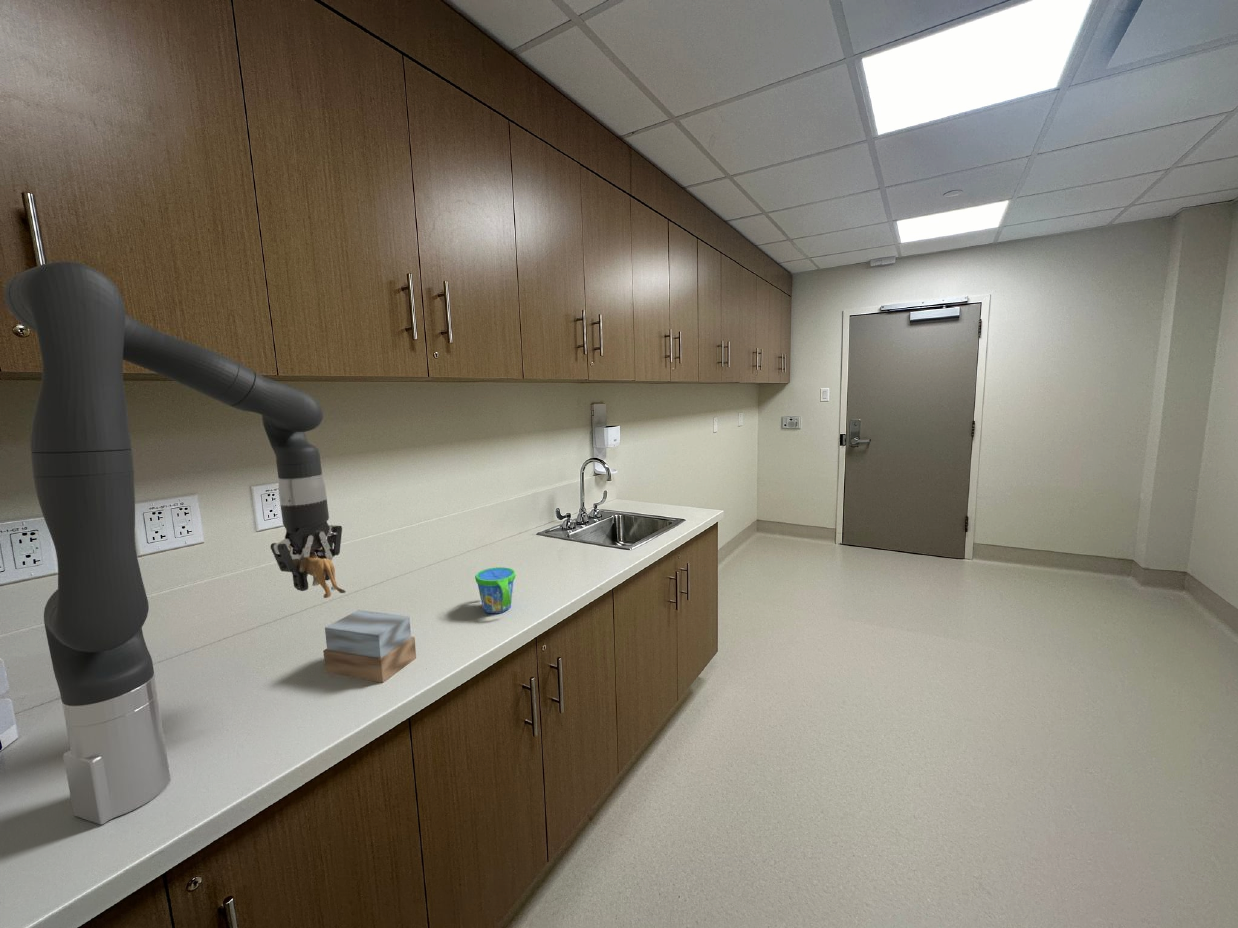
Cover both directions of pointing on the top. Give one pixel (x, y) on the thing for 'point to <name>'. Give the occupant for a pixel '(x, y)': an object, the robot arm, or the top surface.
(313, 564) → the lion figurine
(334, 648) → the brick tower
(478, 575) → the snack cup
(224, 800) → the top surface
